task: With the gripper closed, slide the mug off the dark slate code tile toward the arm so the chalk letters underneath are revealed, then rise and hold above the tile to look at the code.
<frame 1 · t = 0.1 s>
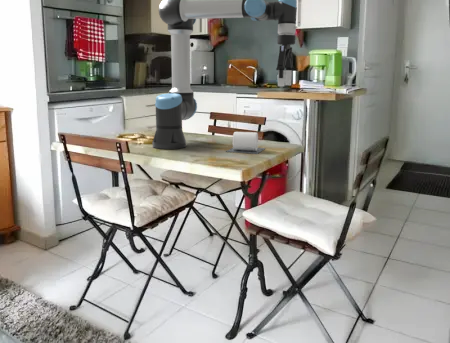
hand: (284, 85, 194), 28 cm above the table, fingers open, 13 cm apart
code tile: (246, 150, 196), on the table
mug: (246, 150, 196), resting on code tile
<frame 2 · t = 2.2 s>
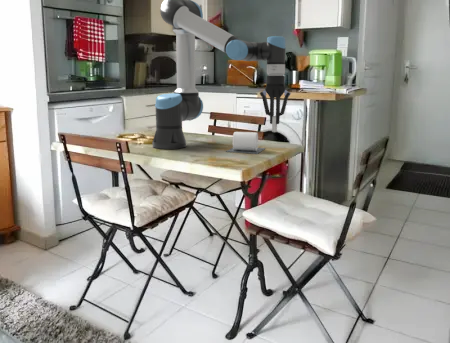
hand: (274, 131, 191), 9 cm above the table, fingers closed
nothing on the table moved.
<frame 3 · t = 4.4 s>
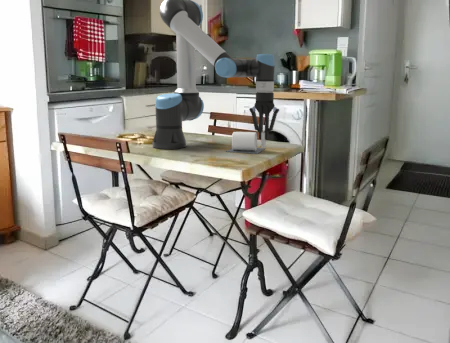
hand: (263, 146, 194), 2 cm above the table, fingers closed
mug: (245, 149, 197), resting on code tile, touching gripper
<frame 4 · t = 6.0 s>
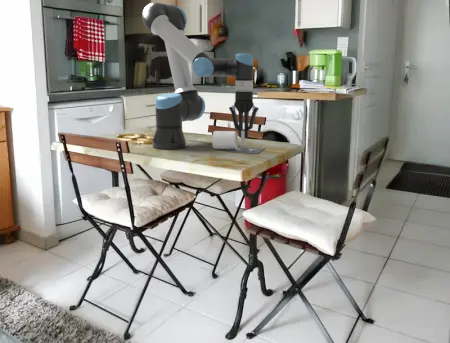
hand: (243, 145, 196), 2 cm above the table, fingers closed
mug: (226, 148, 199), on the table, touching gripper
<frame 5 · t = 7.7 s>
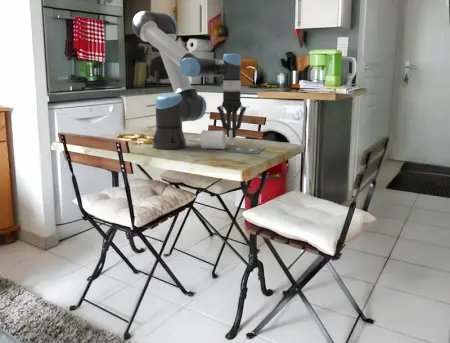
hand: (231, 144, 198), 2 cm above the table, fingers closed
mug: (214, 148, 201), on the table, touching gripper
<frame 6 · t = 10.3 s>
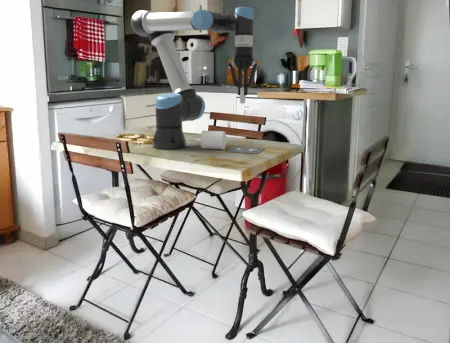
hand: (242, 103, 192), 20 cm above the table, fingers closed
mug: (214, 148, 201), on the table
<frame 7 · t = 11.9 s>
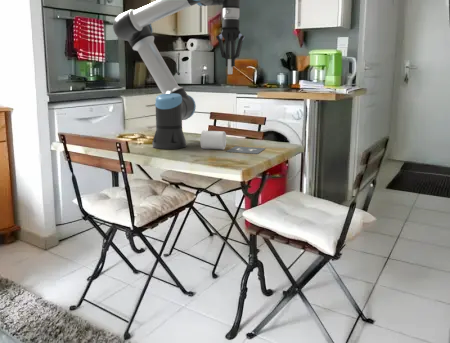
hand: (230, 74, 202), 32 cm above the table, fingers closed
nothing on the table moved.
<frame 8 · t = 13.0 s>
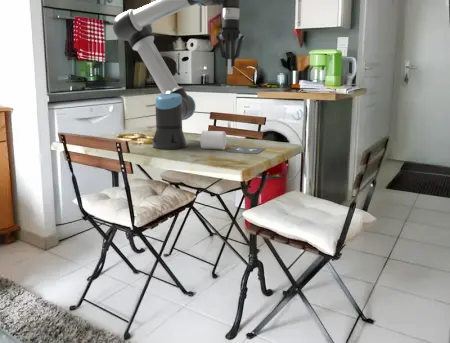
hand: (230, 74, 202), 32 cm above the table, fingers closed
nothing on the table moved.
at the end: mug inside the target area on the table beside the code tile (2.6 cm from its centre), on the table; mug tilted 0°; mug moved 14.7 cm from its start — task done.
